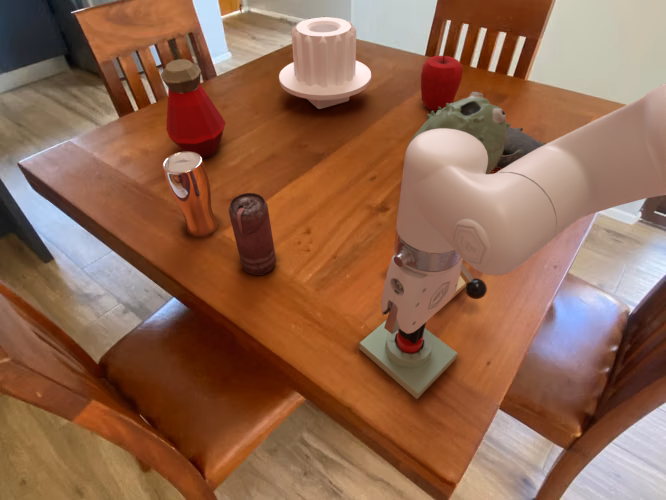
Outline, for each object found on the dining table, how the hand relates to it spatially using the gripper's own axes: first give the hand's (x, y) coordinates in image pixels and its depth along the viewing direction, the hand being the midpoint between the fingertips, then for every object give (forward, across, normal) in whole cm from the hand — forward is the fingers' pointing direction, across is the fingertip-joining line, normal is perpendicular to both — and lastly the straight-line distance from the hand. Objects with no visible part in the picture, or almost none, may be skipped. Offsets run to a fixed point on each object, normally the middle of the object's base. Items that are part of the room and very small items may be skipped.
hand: (409, 334), depth 60 cm
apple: (+6, +65, +44) cm, 79 cm away
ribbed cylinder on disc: (+6, +47, +69) cm, 84 cm away
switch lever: (-1, +14, +3) cm, 14 cm away
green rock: (+5, +37, +20) cm, 42 cm away
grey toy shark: (+5, +56, +18) cm, 59 cm away
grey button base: (+5, 0, 0) cm, 5 cm away
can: (+5, -5, +30) cm, 31 cm away
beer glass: (+6, -7, +46) cm, 47 cm away
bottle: (+6, +8, +71) cm, 71 cm away
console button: (+2, 0, 0) cm, 2 cm away
